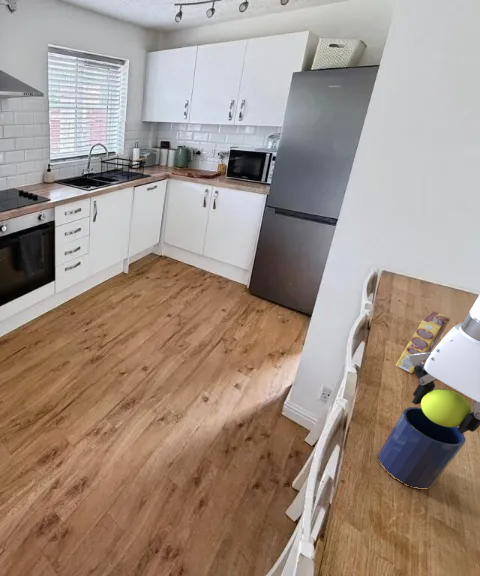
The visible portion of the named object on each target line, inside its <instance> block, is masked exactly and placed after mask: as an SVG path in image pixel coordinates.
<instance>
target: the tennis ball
mask: <svg viewBox="0 0 480 576" xmlns="http://www.w3.org/2000/svg"><path fill="white" fill-rule="evenodd" d="M420 408H422V410H423V412H424V414H425V415H426V416H427V417H428V418H429V419H430V420H431V421H433V422H434V423H436V424H438V425H441V426H445V427H459V426H460V425H461V423H462V422H463V421H464V419H465V418H466V416H467V415H468V414H470V413H472V407H471V405H470V403H469V401H468V400H467V398H465V397H464V396H463V395H462V394H461V393H459V392H458V391H457V392H456V391H454V390H452V389H447V388H434V389H433V390H431V391H429V392H427V393H426V394H425V395H424V396H423V398H422V400H421V403H420Z"/></svg>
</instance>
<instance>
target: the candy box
mask: <svg viewBox="0 0 480 576" xmlns="http://www.w3.org/2000/svg"><path fill="white" fill-rule="evenodd" d="M451 320H452V317H450V316H448V315H446V314H443V313H440V312H437V311H432V312H430V313H429V314H428V315H427V316H426V317H425V318H423V319H422V320H421V321H420V323H419V325H418V326H417V328H416V330H415V332H414V333H413V335H412V336H411V338H410V340H409V342H408V343H407V345H406V347H405V348H404V350H403V352H402V353H401V355H400V357H399V359H398V361H397V362H396V363H395V367H397V368H399V369H401V370H402V371H405V372H407V373H409V374H414V373H415V371H414V366H413V364H412V362H411V360H410V355H412V354H415V353H423V352H431V351H433V350H434V349H433V348H435V346H436V344H437V342H438V341H439V340H440V337H442V334H443V333H444V331H445V329H446V328H447V326H448V325H449V324H450V321H451ZM423 362H424V363H425V362H426V360H424V361H423Z"/></svg>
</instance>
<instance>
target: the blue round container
mask: <svg viewBox="0 0 480 576" xmlns="http://www.w3.org/2000/svg"><path fill="white" fill-rule="evenodd" d="M396 421H397V422H396V423H395V424H394V427H393V428H392V430H391V431H390V433H389V435H388V436H387V438H386V440H385V442H384V443H383V445H382V447H381V448H380V450H379V451H378V454H377V457H378V456H379V460H380V462H381V463H382V465H383V466H384V467H385V469H386V470H387V471H388V472H389V473H391V474H392V475H393V476H394V477H395V478H397V479H399V480H400V481H402V482H403V483H405V484H407V485H409V486H412V487H418V488H429V487H431V486H432V487H433V486H435V484H436V482H438V480H439V479H440V477H441V476H442V474H443V473H444V472H445V471H446V469H447V468H448V467H449V465H450V464H451V462H452V461H453V459H454V458H455V457H456V456H457V454H458V453H459V452H460V450H461V449H462V447H463V446H464V445H465V443H466V436H465V434H464V433H462V434H461V433H459V432H458V430H457V429H458V428H459V426H458V427H445V426H441V425H438V424H436V423H434V422H433V421H431V420H430V419H429V418H428V417H427V416H426V415H425V414H424V412H423V410H422V408H421V407H418V406H409V407H407V408H405V409H403V411H402V413H401V415H400V416H399V418H398V420H396ZM432 487H431V488H432Z"/></svg>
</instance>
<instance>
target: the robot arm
mask: <svg viewBox="0 0 480 576" xmlns="http://www.w3.org/2000/svg"><path fill="white" fill-rule="evenodd" d="M410 360H411V362H412V364H413V366H414V373H415V375H416V377H417V381H416V382H417V383H418V385H417V386H416V388H415V390H414V392H413V394H412V396H414V398H413V400H412V403H413V404H414V405H419V404H420V405H421V400H422V398H423V396H424V395H425V394H426V393H427V392H429V391H431V390H434V389H435V387H436V383H435V381H439V382H441V383H443V384H445V385H446V386H448V387H450V388H451V389H453V390H455V391H457V392H458V393H460V394H461V395H464V396H466V397H468V398H470V399H471V400H473V411H471V413H470V414H468V415H467V416H466V418H465V419H464V421H463V422H462V423H461V425H460V426H458V427H459V428H458V429H457V430H458V432H459V433H461V434H462V433H463V434H464V433H466V432H468V431H469V432H471V433H474V432H475V431H477V429H478V428H479V427H480V294H479V295H478V297H477V298H476V300H475V302H474V303H473V305H472V306H471V308H470V310H469V312H468V313H467V315H466V316H465V318H464V319H463V321H462V322H460V323H458V324H455V325H454V327H452V328H451V329H450V330H449V331H448V332H447V333H446V334H445V335H444V337H443V338H441V340H440V341H439V343H438V344H437V345H435V347H434V349H432V350H431V352H423V353H415V354H412V355H410ZM424 360H425V361H424ZM423 361H424V362H423Z"/></svg>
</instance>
